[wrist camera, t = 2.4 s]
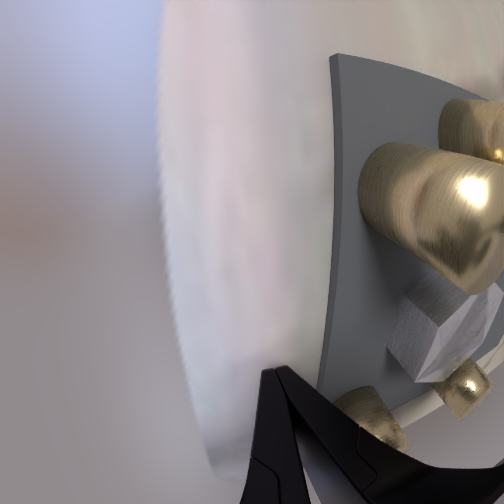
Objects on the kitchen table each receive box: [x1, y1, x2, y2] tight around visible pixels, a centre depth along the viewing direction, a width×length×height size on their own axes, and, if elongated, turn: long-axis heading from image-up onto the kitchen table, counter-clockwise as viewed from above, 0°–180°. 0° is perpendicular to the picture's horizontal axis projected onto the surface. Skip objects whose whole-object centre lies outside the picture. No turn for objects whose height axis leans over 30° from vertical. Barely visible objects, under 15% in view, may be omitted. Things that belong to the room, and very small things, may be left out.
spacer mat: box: [316, 53, 504, 411], centre depth 11 cm, size 19×18×1 cm
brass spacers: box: [332, 99, 504, 454], centre depth 9 cm, size 16×16×4 cm
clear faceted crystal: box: [386, 267, 504, 382], centre depth 10 cm, size 6×5×2 cm
